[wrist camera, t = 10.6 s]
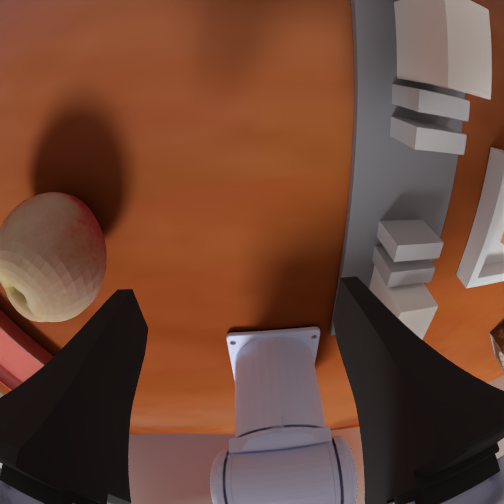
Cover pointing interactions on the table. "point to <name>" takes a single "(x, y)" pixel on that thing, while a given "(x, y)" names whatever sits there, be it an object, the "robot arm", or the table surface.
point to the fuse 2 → (445, 44)
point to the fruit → (51, 257)
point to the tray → (486, 230)
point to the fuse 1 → (406, 303)
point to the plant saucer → (18, 354)
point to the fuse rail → (396, 159)
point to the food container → (498, 343)
